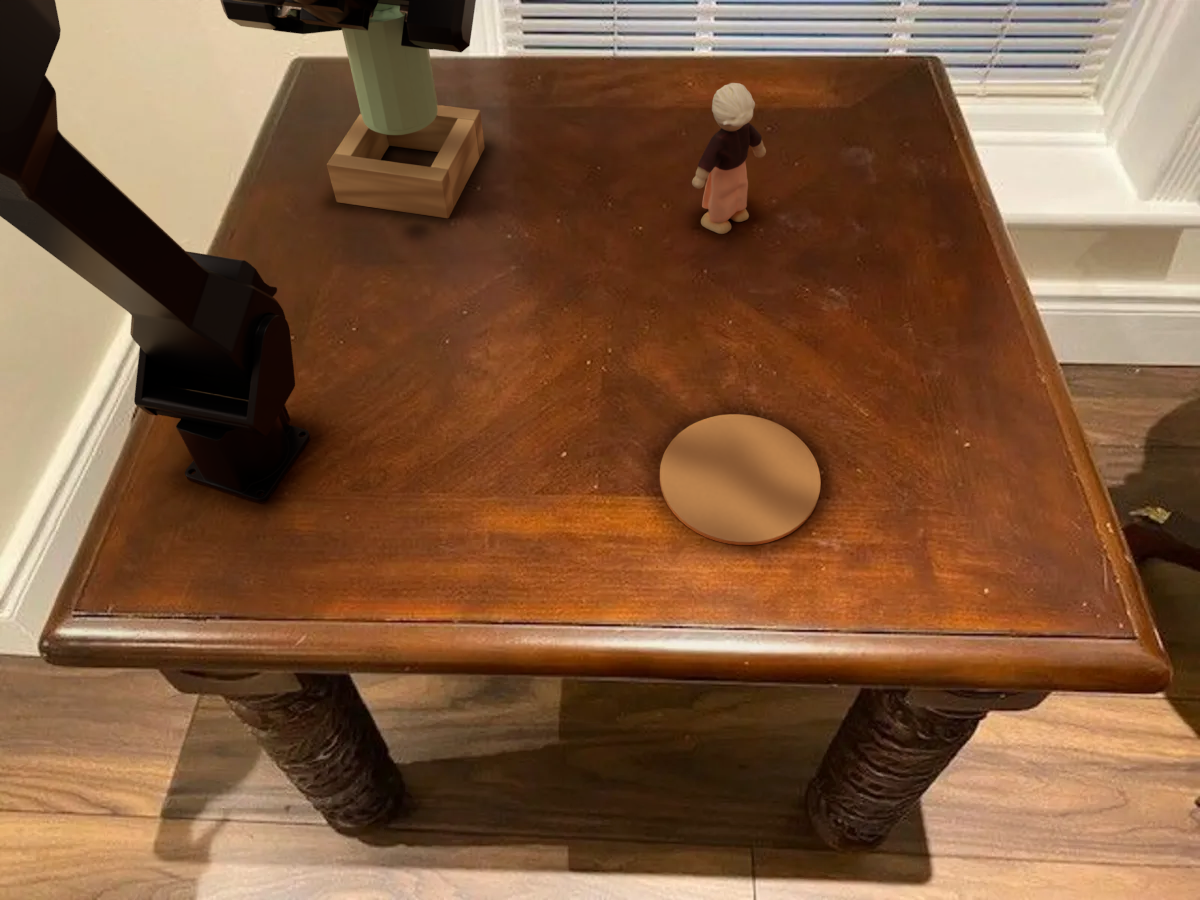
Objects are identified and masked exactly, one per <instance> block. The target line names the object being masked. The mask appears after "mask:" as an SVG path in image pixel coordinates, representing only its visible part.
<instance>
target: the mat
mask: <svg viewBox="0 0 1200 900" xmlns="http://www.w3.org/2000/svg"><path fill="white" fill-rule="evenodd" d="M821 482H822V480H821V472H820V469H819V466H818V463H817V460H816V458H815V456H814V455H813V453H812V452H811V450H810V448H809V447H808V446H807V444H805V442H804V441H803V440H802V439H801V438H800V437H798V436H797V435H796V434H795V433H793V432H792V431H791V430H789V429H788V428H786V427H784V426H783V425H781V424H779V423H777V422H775V421H773V420H770V419H766V418H763V417H759V416H755V415H749V414H742V413H741V414H740V413H739V414H737V413H730V414H729V413H728V414H719V415H715V416H710V417H707V418H705V419H704V418H703V419H701V420H699V421H696V422H694V423H692V424H690V425H689V426H686V427H685V428H684V429H683V430H681V431H680V432H678V433H677V435H676V436H675V437H674V438H673V439H672V440H671V441H670V443H669V444H668V446H666V449H665V451H664V453H663V455H662V458H661V461H660V466H659V485H660V490H661V494H662V496H663V499H664V501H665V503H666V504H667V507H668V508H669V509H670V511H671V513H673V515H674V516H675V517H676V518H677V519H678V520H679V521H680V522H681V523H683V524H684V525H685V526H686V527H687V528H689V529H690V530H692V531H693V532H694V533H697V534H699V535H701V536H703V537H704V538H707V539H710V540H712V541H715V542H719V543H724V544H726V545H727V544H729V545H735V546H755V545H762V544H768V543H771V542H774V541H777V540H781V539H782V538H784V537H786V536H789V535H790V534H792V533H793V532H795V531H797V530H798V529H799V528H801V526H802V525H804V524H805V523H806V522H807V520H808V519H809V518H810V517H811V515H812V513H813V512H814V510H815V508H816V507H817V503H818V501H819V497H820V492H821V485H822V484H821Z"/></svg>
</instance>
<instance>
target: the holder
mask: <svg viewBox="0 0 1200 900" xmlns="http://www.w3.org/2000/svg"><path fill="white" fill-rule="evenodd" d="M437 107H438V112H437V116H436V118H435V119H434V121H433V122H432V123H431V124H429V125H428V126H427V127H425V128H423V129H421V130H419V131H416V132H413V133H409V134H404V135H386V134H381V133H378V132H375V131H373V130H371V129H370V128H368V127H367V126H366V125H365V123H364V121H363V118H362V115H361V112H360V113H359V115H358V116H357V118H356V120H355V121H354V122H353V124H352V125H351V126H350V127H349V129H348V132H347V133H346V134H345V136H344V138H343V139H342V140H341V142H340V143H339V145H338V146H337V148H336V150H335V151H334V153H333V154H332V156H331V157H330V159H329V160H328V161H327V163H326V168H327V172H328V175H329V179H330V182H331V186H332V191H333V194H334V196H335V201H336V203H339V204H340V203H341V204H346V205H354V206H360V207H368V208H374V209H381V210H388V211H395V212H400V213H407V214H414V215H421V216H427V217H428V216H429V217H434V218H435V217H436V218H442V219H449V218H450V216H451V214H452V212H453V210H454V209H455V207H456V205H457V202H458V201H459V199H460V197H461V195H462V193H463V191H464V189H465V187H466V185H467V184H468V182H469V179H470V177H471V175H472V174H473V171H474V170H475V168H476V166H477V164H478V162H479V160H480V158H481V156H482V154H483V152H484V150H485V149H486V146H485V138H484V132H483V131H484V130H483V123H482V114H481V110H480V109H473V108H465V107H458V106H449V105H443V104H437ZM389 147H397V148H405V149H410V150H411V149H412V150H418V151H426V152H434V153H437V155H436V156H435V158H434V160H433V162H432V163H431V165H430V166H425V165H420V164H419V165H418V164H411V163H404V162H398V161H390V160H382V158H383V157H384V155H385V153H387V150H388V149H389Z"/></svg>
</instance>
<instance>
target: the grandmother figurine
mask: <svg viewBox="0 0 1200 900" xmlns="http://www.w3.org/2000/svg"><path fill="white" fill-rule="evenodd" d="M755 106H756V102H755V101H754V99H753V96H752V94H751V92H750V91H749V90H748V89H747V87H746V86H745V85H744V84H741V83H739V82H729V83H728V84H724V85H723V86H721V87H720V88H719V89H716V91H715V92H714V95H713V98H712V105H711V112H712V113H713V115H712V116H713V118H714V120H715V122H716V124H717V125H718V126H719V127H720V129H719V130H717V132H715V134H713V135H712V137H711V138H710V139H709V141H708V143H707V146H706V147H705V149H704V151H703V153H702V156H701V157H700V159H699V160H698V163H697V169H696V170H695V176H694V177H693V178H692V181H691V184H692V187H693V188H694V189H697V190H701V189H702V188H704V191H703V195H702V203H701V207H702V208H703V209H706V210H708V211H707V212H706V213H704V214H703V216H702V217H701V219H700V224H701V226H702V227H703V228H704V229H707V230H709V231H712V232H714V233H716V234H719V235H723V234H727V233H728V232H730V231H731V229H732V224H731V222H730V221H729V219H731V221H733V222H736V223H741V222H744V221H747V220H748V219H749V217H750V215H749V212H748V210H747V209H746V208H747V206H748V189H749V180H748V172H747V164H746V163H747V162H746V160H747V158H748V153H749V149H750V148H751V149H752V152H753V156H755V158H758V159H761V158H764V157H765V156H766V153H767V149H766V147H765V145H764V142H763V137H762V134H760V132H759V131H758V129H756V127H755V126H754V125H753V124H752V123H750V121H752V118H753V116H754V109H755ZM704 186H705V187H704Z"/></svg>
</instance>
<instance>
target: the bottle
mask: <svg viewBox="0 0 1200 900" xmlns="http://www.w3.org/2000/svg"><path fill="white" fill-rule="evenodd" d="M399 10H400V6H396V5H387V4H377V6H376V8H375V10H374V15H373V17H372V18H370V19H369V27H368V31H365V30H357V29H348V28H342V30H341V33H342V37H343V41H344V45H345V46H344V47H345V50H346V54H347V58H348V63H349V68H350V70H351V71H350V72H351V77H352V80H353V85H354V89H355V94H356V98H357V103H358V107H359V112H360V113H361V115H362V118H363V121H364V123H365V125H366V126H367V127H368V128H370V129H371V130H373V131H375V132H378V133H381V134H386V135H404V134H409V133H413V132H416V131H419V130H421V129H423V128H425V127H427V126H428V125H429V124H431V123H432V122H433V121H434V119H435V118H436V116H437V112H438V107H437V105H438V98H437V92H436V85H435V78H434V73H433V67H432V66H433V65H432V61H431V60H432V59H431V53H430V49H423V48H414V47H406V46H401V41H402V33H403V25H404V17H405V15H403V14H402V13H401V12H400V11H399Z"/></svg>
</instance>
